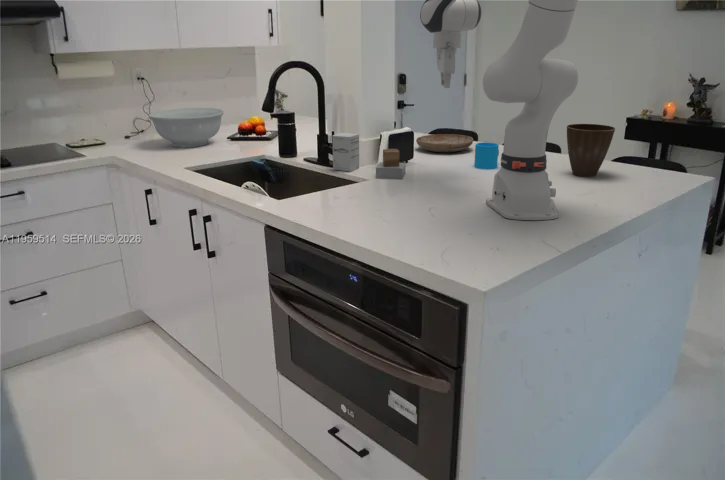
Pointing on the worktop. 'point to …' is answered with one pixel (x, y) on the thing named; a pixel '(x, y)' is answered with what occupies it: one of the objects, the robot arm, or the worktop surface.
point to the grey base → (390, 171)
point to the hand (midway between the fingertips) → (445, 86)
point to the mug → (486, 155)
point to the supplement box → (345, 151)
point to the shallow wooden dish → (444, 142)
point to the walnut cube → (391, 157)
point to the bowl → (187, 125)
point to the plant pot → (588, 147)
